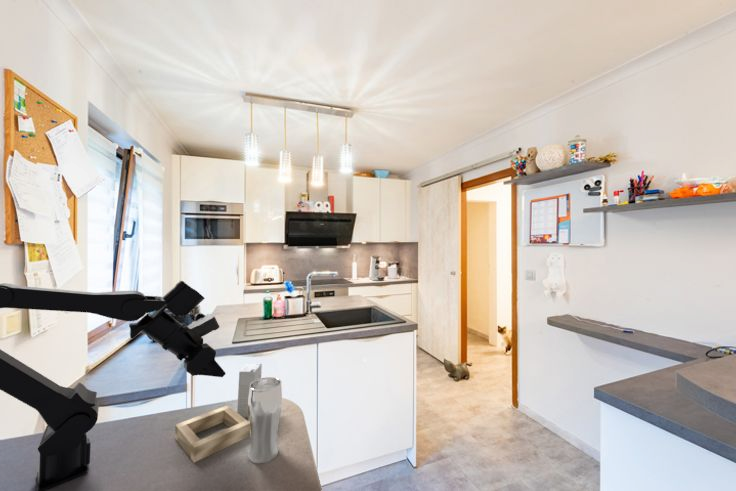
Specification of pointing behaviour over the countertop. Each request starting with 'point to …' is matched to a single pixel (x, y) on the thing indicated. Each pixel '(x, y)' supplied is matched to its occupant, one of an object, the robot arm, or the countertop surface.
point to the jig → (215, 442)
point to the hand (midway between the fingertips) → (218, 369)
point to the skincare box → (247, 386)
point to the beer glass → (264, 418)
